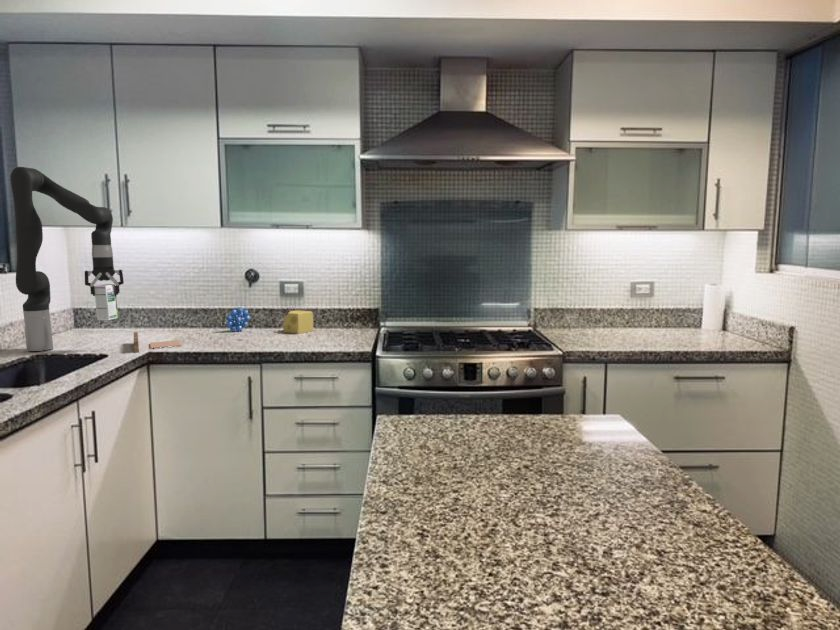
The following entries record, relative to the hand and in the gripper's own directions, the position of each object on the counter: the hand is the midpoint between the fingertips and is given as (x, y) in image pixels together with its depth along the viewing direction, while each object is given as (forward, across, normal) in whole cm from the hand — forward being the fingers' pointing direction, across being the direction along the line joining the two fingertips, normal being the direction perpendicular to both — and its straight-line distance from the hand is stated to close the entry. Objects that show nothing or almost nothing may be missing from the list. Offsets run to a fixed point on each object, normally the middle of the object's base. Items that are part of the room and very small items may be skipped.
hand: (105, 295), depth 244 cm
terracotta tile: (+23, -22, 0) cm, 32 cm away
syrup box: (+10, 0, 0) cm, 10 cm away
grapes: (+23, -56, -21) cm, 64 cm away
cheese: (+23, -82, -6) cm, 86 cm away
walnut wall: (+23, -10, 0) cm, 25 cm away
